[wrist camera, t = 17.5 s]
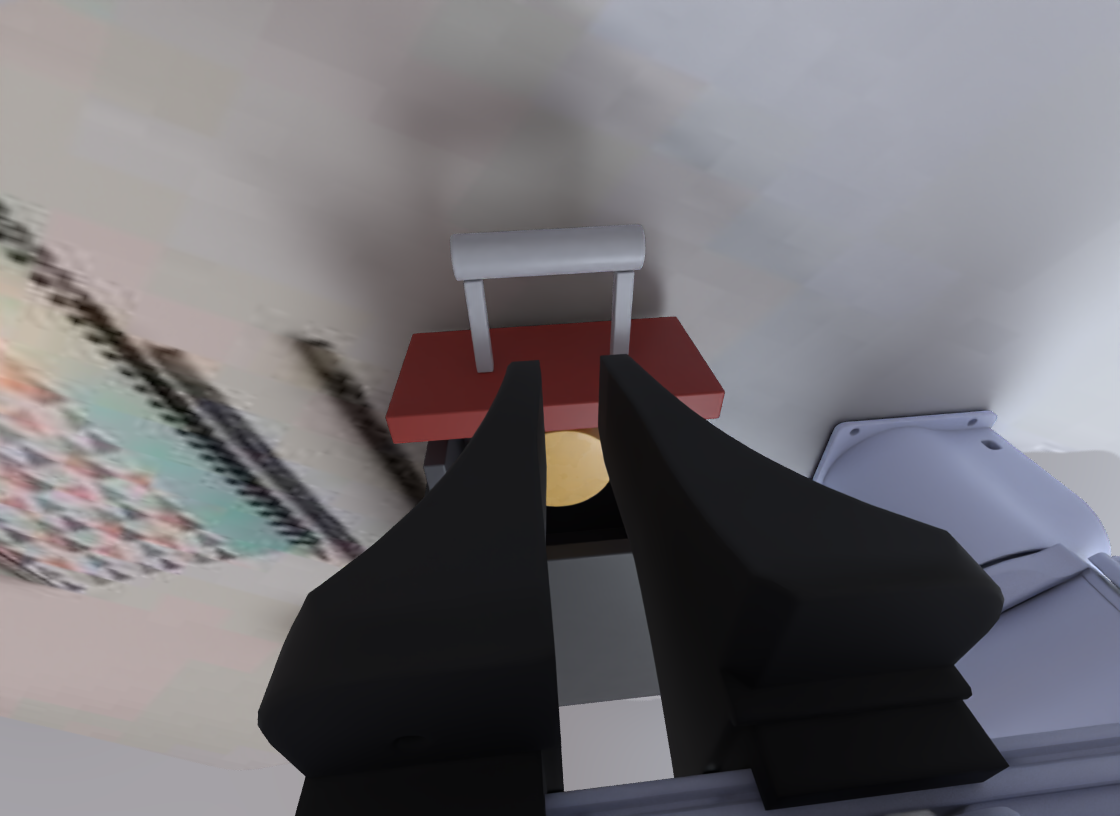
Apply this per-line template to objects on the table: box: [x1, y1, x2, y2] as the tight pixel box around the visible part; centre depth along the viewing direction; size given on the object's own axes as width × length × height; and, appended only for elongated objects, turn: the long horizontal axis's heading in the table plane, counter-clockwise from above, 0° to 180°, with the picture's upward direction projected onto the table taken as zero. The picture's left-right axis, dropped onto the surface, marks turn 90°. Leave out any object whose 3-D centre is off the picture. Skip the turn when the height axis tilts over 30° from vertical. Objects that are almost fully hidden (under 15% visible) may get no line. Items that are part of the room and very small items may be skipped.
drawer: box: [385, 224, 725, 546], centre depth 20 cm, size 18×11×6 cm, turn 0°
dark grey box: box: [425, 482, 660, 706], centre depth 27 cm, size 15×13×8 cm
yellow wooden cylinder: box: [545, 428, 609, 507], centre depth 20 cm, size 4×4×4 cm
